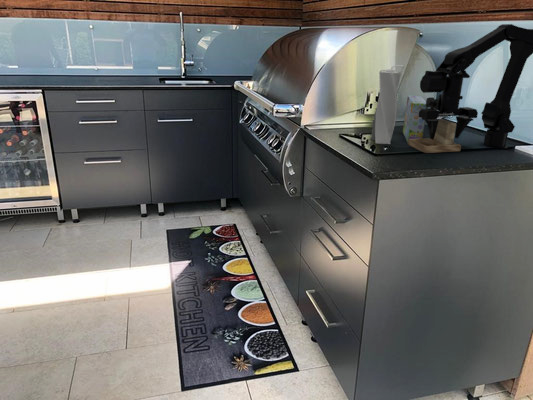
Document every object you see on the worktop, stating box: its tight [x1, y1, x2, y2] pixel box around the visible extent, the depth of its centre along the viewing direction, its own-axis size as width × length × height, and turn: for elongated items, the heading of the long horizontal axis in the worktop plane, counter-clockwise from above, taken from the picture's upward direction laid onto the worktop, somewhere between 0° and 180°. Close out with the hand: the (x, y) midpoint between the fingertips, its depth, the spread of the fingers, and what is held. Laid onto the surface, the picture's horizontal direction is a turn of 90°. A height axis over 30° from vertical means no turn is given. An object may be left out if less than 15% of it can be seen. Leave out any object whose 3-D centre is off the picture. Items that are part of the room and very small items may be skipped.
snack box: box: [402, 95, 427, 143], centre depth 163 cm, size 21×6×15 cm, turn 168°
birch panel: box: [432, 118, 457, 145], centre depth 149 cm, size 3×8×9 cm, turn 12°
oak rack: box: [407, 137, 462, 154], centre depth 150 cm, size 13×11×3 cm
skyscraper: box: [370, 64, 405, 145], centre depth 153 cm, size 8×8×28 cm
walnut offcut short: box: [418, 140, 434, 146], centre depth 148 cm, size 3×5×1 cm, turn 18°
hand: (444, 138), depth 148 cm, fingers open, 9 cm apart
